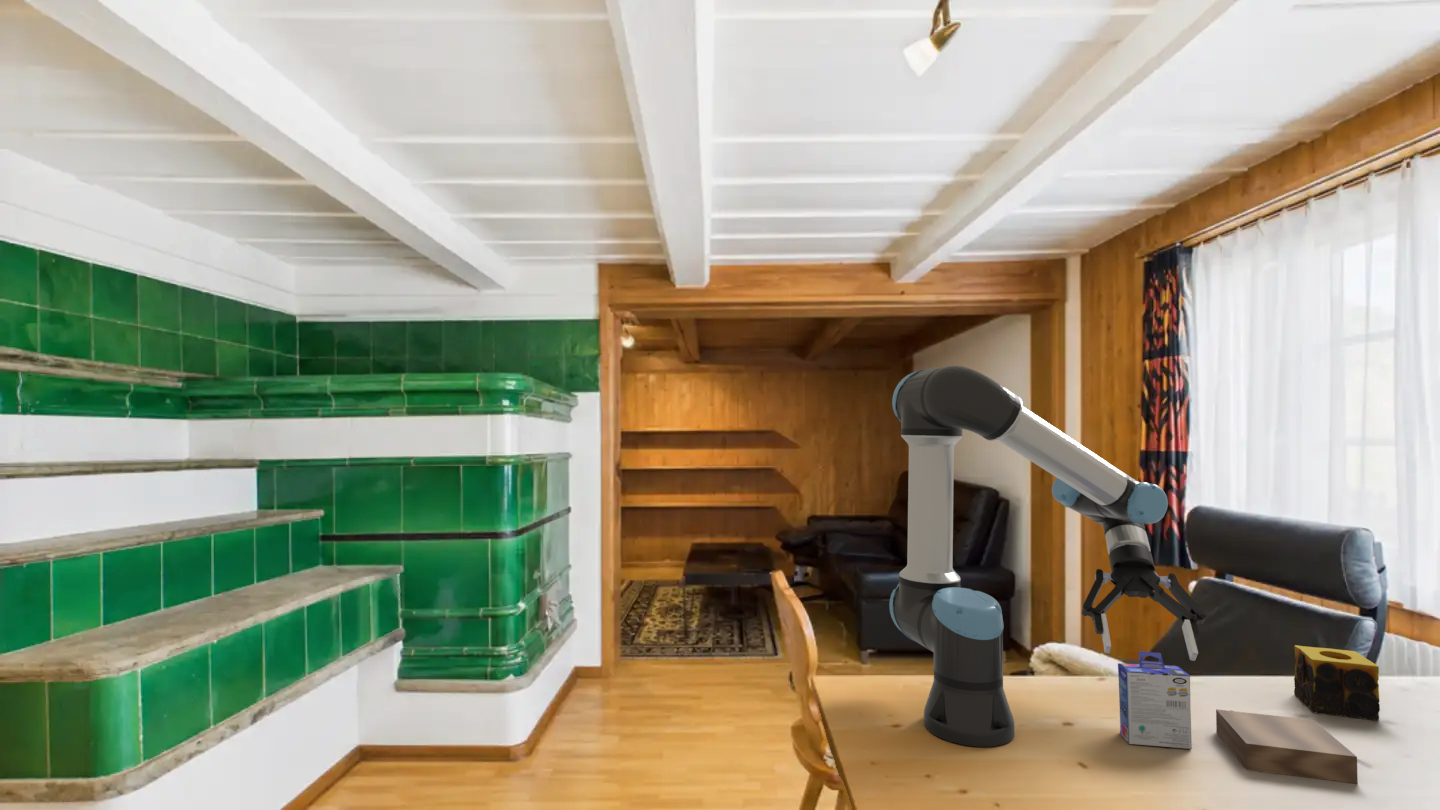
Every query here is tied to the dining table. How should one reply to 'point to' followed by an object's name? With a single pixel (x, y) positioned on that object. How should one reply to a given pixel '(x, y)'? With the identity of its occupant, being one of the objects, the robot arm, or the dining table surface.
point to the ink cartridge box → (1154, 703)
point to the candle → (1337, 682)
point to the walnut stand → (1286, 746)
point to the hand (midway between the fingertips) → (1150, 653)
